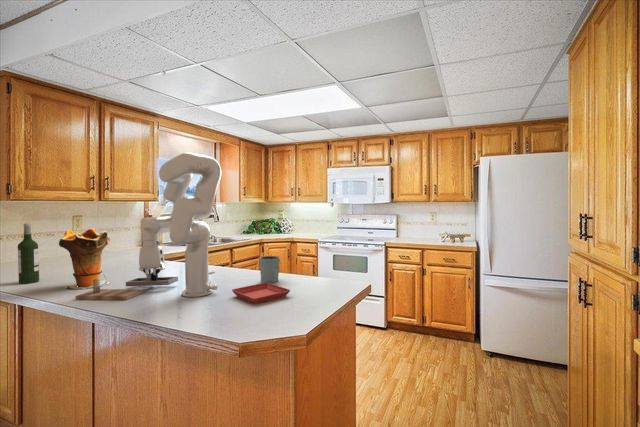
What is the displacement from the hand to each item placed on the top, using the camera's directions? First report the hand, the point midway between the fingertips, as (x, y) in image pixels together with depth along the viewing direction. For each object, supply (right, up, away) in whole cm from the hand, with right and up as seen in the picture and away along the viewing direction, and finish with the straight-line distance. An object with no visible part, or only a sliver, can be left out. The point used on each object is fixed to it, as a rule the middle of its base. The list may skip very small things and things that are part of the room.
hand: (152, 283), depth 156 cm
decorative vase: (-36, -3, +7) cm, 36 cm away
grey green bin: (+53, -2, +12) cm, 54 cm away
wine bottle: (-70, -3, +14) cm, 72 cm away
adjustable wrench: (+13, -2, +24) cm, 27 cm away
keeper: (-12, -3, -13) cm, 18 cm away
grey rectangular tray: (0, 0, 0) cm, 0 cm away
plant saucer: (+53, -3, -16) cm, 56 cm away
